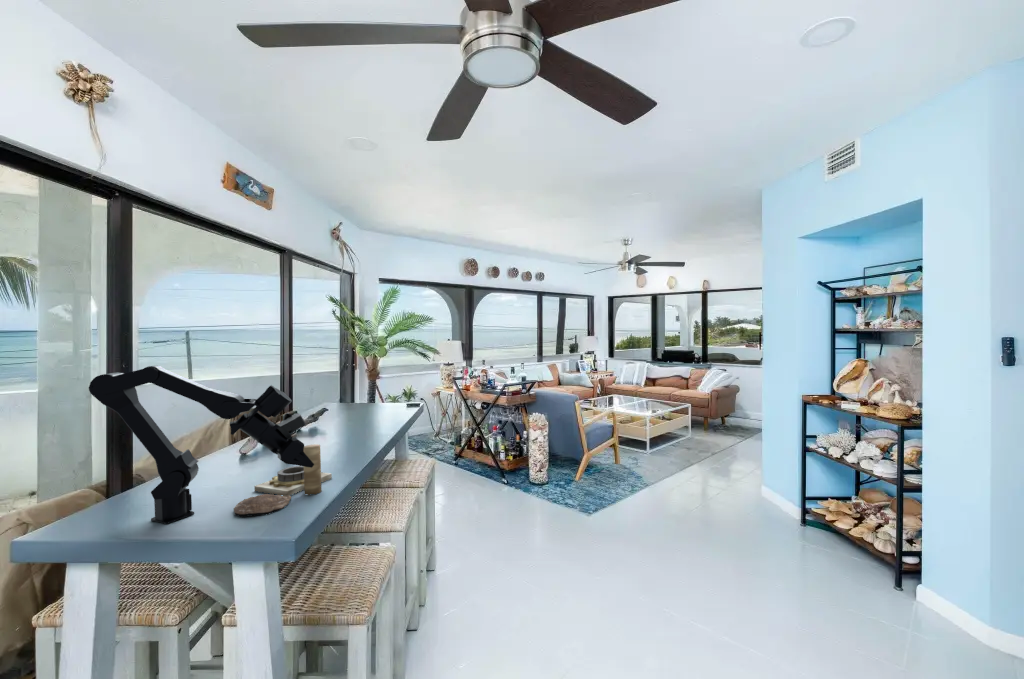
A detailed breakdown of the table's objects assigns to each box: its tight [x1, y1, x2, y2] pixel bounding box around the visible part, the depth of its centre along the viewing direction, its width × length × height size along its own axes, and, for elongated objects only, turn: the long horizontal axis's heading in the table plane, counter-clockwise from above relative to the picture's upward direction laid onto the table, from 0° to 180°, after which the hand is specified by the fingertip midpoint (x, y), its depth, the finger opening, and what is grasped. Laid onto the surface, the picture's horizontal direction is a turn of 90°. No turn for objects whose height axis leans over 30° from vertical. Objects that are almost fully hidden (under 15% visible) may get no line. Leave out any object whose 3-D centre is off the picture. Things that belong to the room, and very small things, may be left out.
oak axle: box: [303, 443, 323, 496], centre depth 125 cm, size 4×4×13 cm
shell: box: [233, 493, 292, 518], centre depth 114 cm, size 12×13×4 cm
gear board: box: [253, 465, 333, 496], centre depth 132 cm, size 16×13×4 cm
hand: (308, 462), depth 124 cm, fingers open, 9 cm apart
